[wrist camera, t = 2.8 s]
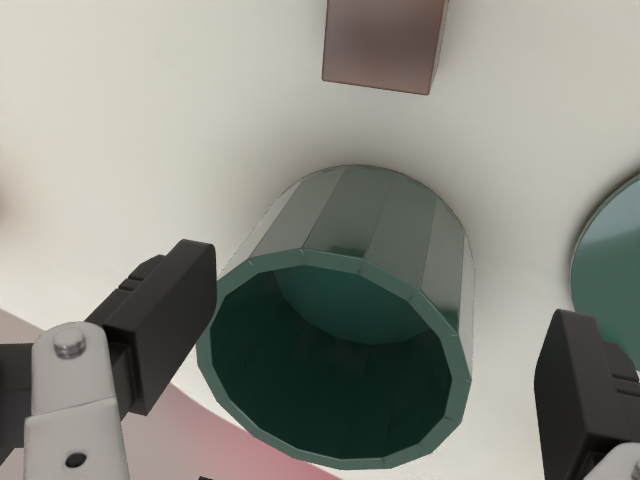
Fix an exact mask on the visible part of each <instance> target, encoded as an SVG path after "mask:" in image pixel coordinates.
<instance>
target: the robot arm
mask: <svg viewBox="0 0 640 480" xmlns="http://www.w3.org/2000/svg"><path fill="white" fill-rule="evenodd" d="M216 304H217V275H216V251H215V247H214V245H212V244H208V243H203V242H198V241H192V240H187V239H182V240H181V241H180V242H179V243H178V244H177V245H176V246H175V247H174V248H173V249H172V250H171V251H170V252H169V253H168V254H167V255H166V256H164V255H157V256H155V257H153V258H151V259H149V260H147V261H145V262H143V263H141V264H140V265H139V266H138V267H137V268H136V269H135V270H134V271H133V272H132V273H131V274H130V275H129V276H128V279H125V280H124V281H123V282H122V283H121V284H120V285H119V288H118V289H115V290H114V291H113V292H112V293H111V294H110V295H109V296H108V297H107V298H106V299H105V300H104V301H103V302H102V303H101V304H100V305H99V306H98V307H97V308H96V309H95V310H94V311H93V312H92V313H91V314H90V315H89V316H88V317H87V318H86V319H85V320H84V322H70V323H65V324H61V325H58V326H55V327H53V328H51V329H49V330H47V331H46V332H44V333H43V334H42V335H40V336H39V337H38V338H37V339H36V341H35V342H34V343H27V344H26V343H25V344H0V466H1V464H2V463H3V462H4V461H5V459H6V458H7V457H8V456H9V454H10V453H11V452H12V451H13V449H14V448H24V478H23V480H130V475H129V469H128V463H127V457H126V451H125V445H124V439H123V433H122V428H121V421H122V420H123V418H124V417H125V415H126V414H127V413H128V412H132V413H135V414H139V415H144V416H147V415H148V413H149V412H150V410H151V409H152V407H153V405H154V404H155V403H156V401H157V400H158V398H159V397H160V395H161V394H162V393H163V391H164V389H165V388H166V386H167V385H168V384H169V382H170V381H171V379H172V378H173V376H174V375H175V373H176V372H177V370H178V369H179V367H180V366H181V364H182V363H183V361H184V360H185V358H186V357H187V355H188V354H189V352H190V351H191V349H192V348H193V346H194V345H195V343H196V342H197V340H198V339H199V337H200V336H201V334H202V333H203V332H204V330H205V329H206V327H207V326H208V324H209V323H210V321H211V319H212V317H213V315H214V312H215V308H216ZM534 393H535V401H536V409H537V418H538V426H539V434H540V443H541V451H542V459H543V467H544V476H545V480H640V383H639V378H638V375H637V372H636V369H635V366H634V364H633V361H632V360H631V359H630V358H629V356H628V355H627V354H626V353H625V352H624V351H623V350H622V349H621V347H620V346H619V345H618V344H617V343H614V342H609V341H604V340H602V339H601V335H600V332H599V329H598V325H597V322H596V319H595V317H594V316H593V315H589V314H583V313H578V312H573V311H567V310H562V309H557V310H556V311H555V312H554V314H553V317H552V320H551V323H550V326H549V328H548V331H547V334H546V337H545V340H544V343H543V346H542V349H541V352H540V355H539V358H538V361H537V365H536V369H535V376H534ZM199 480H212V479H208V478H204V477H201V476H200V478H199Z"/></svg>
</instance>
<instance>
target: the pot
mask: <svg viewBox="0 0 640 480" xmlns="http://www.w3.org/2000/svg"><path fill="white" fill-rule="evenodd" d="M474 278H475V269H474V265H473V261H472V255H471V249H470V245H469V242H468V239H467V236H466V233H465V231H464V229H463V227H462V225H461V224H460V222H459V220H458V219H457V217H456V216H455V214H454V213H453V212H452V210H451V209H450V208H449V207H448V206H447V205H446V204H445V202H444V201H443V200H442V199H441V198H440V197H438V196H437V195H436V194H435V193H434V192H432V191H431V190H430V189H429V188H427V187H425V186H424V185H422V184H421V183H419V182H418V181H416V180H414V179H412V178H410V177H408V176H405V175H403V174H401V173H398V172H395V171H392V170H389V169H385V168H380V167H375V166H365V165H344V166H337V167H332V168H327V169H324V170H321V171H318V172H315V173H313V174H311V175H309V176H306V177H304V178H303V179H301V180H300V181H298V182H297V183H295V184H294V185H292V186H291V187H290V188H289V189H288V190H287V191H285V192H284V193H283V194H282V195H281V196H280V197H279V198H277V199H276V200H275V201H274V202H273V204H272V205H271V206H270V208H269V209H268V210H267V212H266V213H265V214H264V216H263V217H262V218H261V220H260V221H259V222H258V224H257V225H256V226H255V228H254V229H253V230H252V232H251V233H250V234H249V236H248V237H247V238H246V240H245V241H244V242H243V244H242V245H241V246H240V248H239V249H238V250H237V252H236V253H235V254H234V256H233V257H232V258H231V260H230V261H229V262H228V264H227V265H226V266H225V268H224V269H223V270H222V272H221V273H220V274H219V276H218V277H217V304H216V308H215V312H214V315H213V317H212V319H211V321H210V323H209V324H208V326H207V327H206V329H205V330H204V332H203V333H202V334H201V336H200V337H199V339H198V340H197V342H196V354H197V363H198V367H199V369H200V371H201V373H202V374H203V376H204V378H205V380H206V382H207V384H208V386H209V388H210V390H211V391H212V393H213V395H214V397H215V399H216V401H217V402H218V403H219V404H220V405H221V406H222V407H223V408H224V409H225V410H226V411H227V412H228V413H229V414H230V415H231V416H232V417H233V418H234V419H235V420H236V421H237V422H238V423H239V424H240V425H242V426H243V427H244V428H245V429H246V430H247V431H248V432H249V433H250V434H252V436H253V437H255V438H257V439H259V440H261V441H263V442H264V443H266V444H268V445H270V446H272V447H274V448H276V449H278V450H279V451H281V452H283V453H285V454H287V455H288V456H290V457H292V458H295V459H298V460H302V461H306V462H310V463H314V464H318V465H322V466H326V467H330V468H334V469H338V470H367V469H391V468H394V467H397V466H399V465H402V464H405V463H407V462H410V461H412V460H415V459H418V458H420V457H423V456H426V455H428V454H431V453H432V452H433V451H434V450H435V449H436V448H437V447H438V446H439V445H440V444H441V443H442V442H443V441H444V440H445V439H446V438H447V437H448V436H449V435H450V434H451V433H452V432H453V431H454V430H455V429H456V428H457V427H458V426H459V425H460V424H461V422H462V419H463V415H464V411H465V407H466V403H467V399H468V395H469V390H470V386H471V382H472V353H473V315H474Z"/></svg>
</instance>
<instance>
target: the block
mask: <svg viewBox="0 0 640 480" xmlns="http://www.w3.org/2000/svg"><path fill="white" fill-rule="evenodd" d="M448 3H449V0H327V13H326V26H325V39H324V53H323V66H322V80H323V81H328V82H335V83H342V84H349V85H356V86H363V87H370V88H377V89H384V90H391V91H398V92H405V93H413V94H420V95H429V92H430V89H431V86H432V83H433V80H434V77H435V74H436V71H437V65H438V60H439V54H440V48H441V43H442V37H443V31H444V26H445V20H446V14H447V9H448Z"/></svg>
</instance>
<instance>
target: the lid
mask: <svg viewBox="0 0 640 480" xmlns="http://www.w3.org/2000/svg"><path fill="white" fill-rule="evenodd" d="M569 283H570V293H571V298H572V301H573V305H574V309H575V312H578V313H583V314H589V315H593V316H594V317H595V319H596V322H597V325H598V329H599V332H600V335H601V339H602V340H604V341H609V342H614V343H617V344H618V345H619V346H620V347H621V349H622V350H623V351H624V352H625V353H626V354H627V355H628V356H629V358H630V359H631V360H632V361H633V364H634V366H635V369H636V370H637V371H640V174H638V175H637V176H635V177H633V178H632V179H630V180H629V181H627V182H626V183H625V184H624V185H622V186H621V187H620V188H619V189H617V190H616V191H615V192H614V193H612V194H611V195H610V196H609V197H608V198H607V199H606V200H605V201H604V202H603V203H602V204H601V205H600V206H599V208H598V209H597V210H596V211H595V213H594V214H593V215H592V217H591V218H590V219H589V220H588V222H587V224H586V225H585V227H584V229H583V231H582V232H581V234H580V236H579V238H578V241H577V243H576V246H575V248H574V251H573V255H572V259H571V263H570V274H569Z"/></svg>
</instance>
